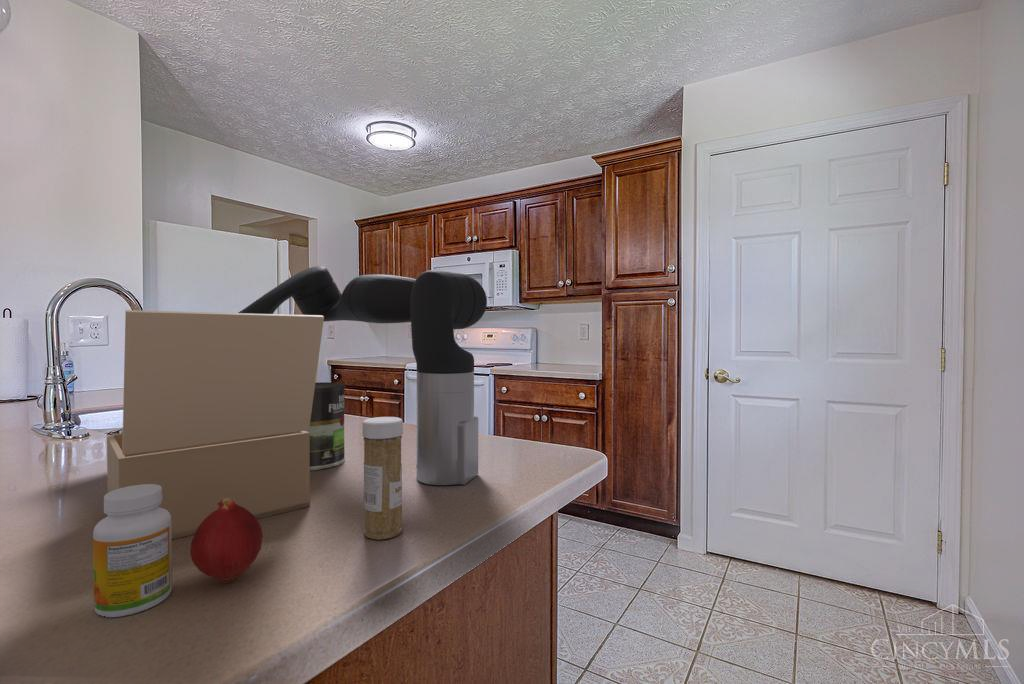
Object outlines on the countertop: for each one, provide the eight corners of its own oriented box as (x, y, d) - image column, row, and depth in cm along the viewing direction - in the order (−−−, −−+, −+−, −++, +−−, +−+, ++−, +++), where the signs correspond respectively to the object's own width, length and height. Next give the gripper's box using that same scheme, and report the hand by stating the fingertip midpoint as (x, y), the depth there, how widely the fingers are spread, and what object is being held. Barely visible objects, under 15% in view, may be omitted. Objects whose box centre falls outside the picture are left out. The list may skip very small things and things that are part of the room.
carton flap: (125, 310, 47) (126, 311, 47) (322, 315, 61) (324, 316, 60) (122, 452, 51) (122, 454, 51) (307, 427, 65) (309, 429, 64)
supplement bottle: (106, 592, 44) (105, 485, 43) (178, 580, 46) (177, 478, 46) (83, 625, 39) (81, 505, 38) (164, 610, 41) (163, 496, 41)
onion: (212, 567, 48) (211, 488, 48) (272, 565, 49) (272, 486, 49) (177, 599, 42) (176, 509, 42) (245, 596, 43) (245, 507, 43)
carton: (107, 511, 63) (106, 435, 63) (271, 479, 77) (271, 417, 77) (119, 552, 51) (118, 459, 51) (309, 506, 65) (309, 432, 65)
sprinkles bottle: (408, 535, 56) (408, 420, 56) (369, 544, 54) (369, 424, 53) (395, 522, 60) (394, 414, 60) (357, 530, 57) (357, 417, 57)
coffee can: (353, 455, 92) (353, 382, 92) (332, 471, 82) (332, 388, 81) (299, 455, 92) (299, 381, 92) (271, 471, 82) (271, 388, 81)
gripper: (128, 359, 73) (143, 365, 61) (227, 356, 83) (257, 361, 70) (129, 408, 74) (143, 424, 61) (227, 400, 83) (257, 413, 70)
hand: (204, 391), depth 66 cm, fingers closed
